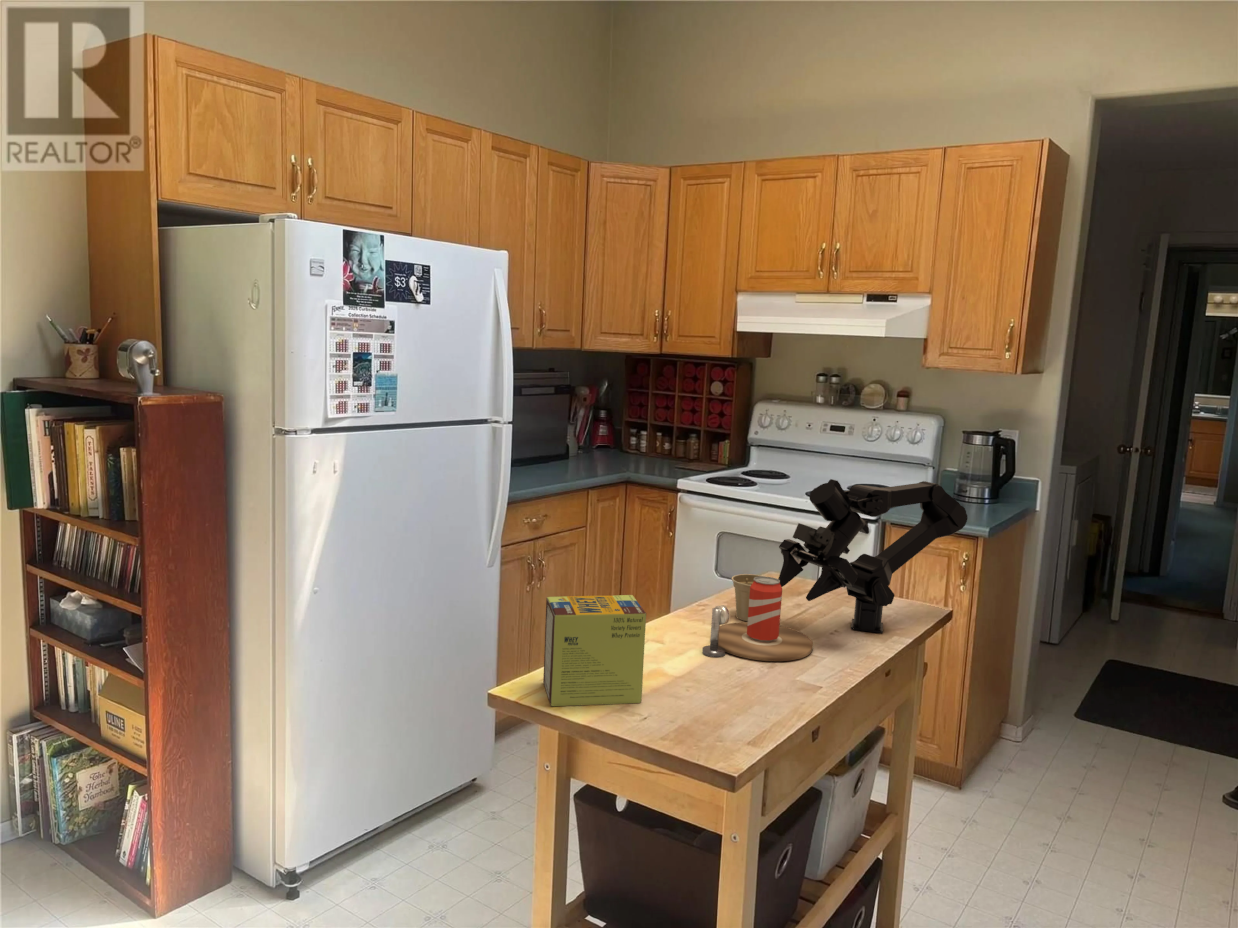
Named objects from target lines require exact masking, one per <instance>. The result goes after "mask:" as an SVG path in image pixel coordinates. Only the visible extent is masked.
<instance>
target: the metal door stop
mask: <svg viewBox="0 0 1238 928" xmlns="http://www.w3.org/2000/svg"><path fill="white" fill-rule="evenodd" d="M729 621H730V612H729V609H728V607H727V606H726V605H715V607H713V608H712V611H711V624H710V625H711V626H710V627H711V628H710V641H709V644H708V645H705V646H703V647H702V651H701V653H702V654H703V655H704V656H706V657H710V658H722V657H725V656H726V652H725V649H724V648H722V647H720V646H718V645H719V630H720V626H722V625H725V624H729Z"/></svg>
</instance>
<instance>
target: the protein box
mask: <svg viewBox="0 0 1238 928" xmlns="http://www.w3.org/2000/svg"><path fill="white" fill-rule="evenodd" d="M545 606H546V607H545V630H544V651H543V652H544V655H543V656H544V657H543V658H544V659H543V660H544V661H543V682H542V683H543V685H544V689H545V692H546V696H547V699H548V702H549V706H550V707H570V706H596V705H597V706H598V705H599V706H601V705H623V704H625V705H626V704H627V705H628V704H640V703H641V704H642V699H643V696H642V695H643V684H644V683H643V681H644V680H643V679H644V663H645V662H644V660H645V659H644V658H645V644H646V643H645V642H646V641H645V640H646V625H647V612H646V611H645V609H643V607H642V606H641V605H640V604H639V602H638V600H637V599H636V597H635V596H634V595H633V594H624V595H623V594H621V595H620V594H619V595H577V596H576V595H574V596H573V595H572V596H571V595H568V596H567V595H565V596H563V595H562V596H547V597H546V603H545Z"/></svg>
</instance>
